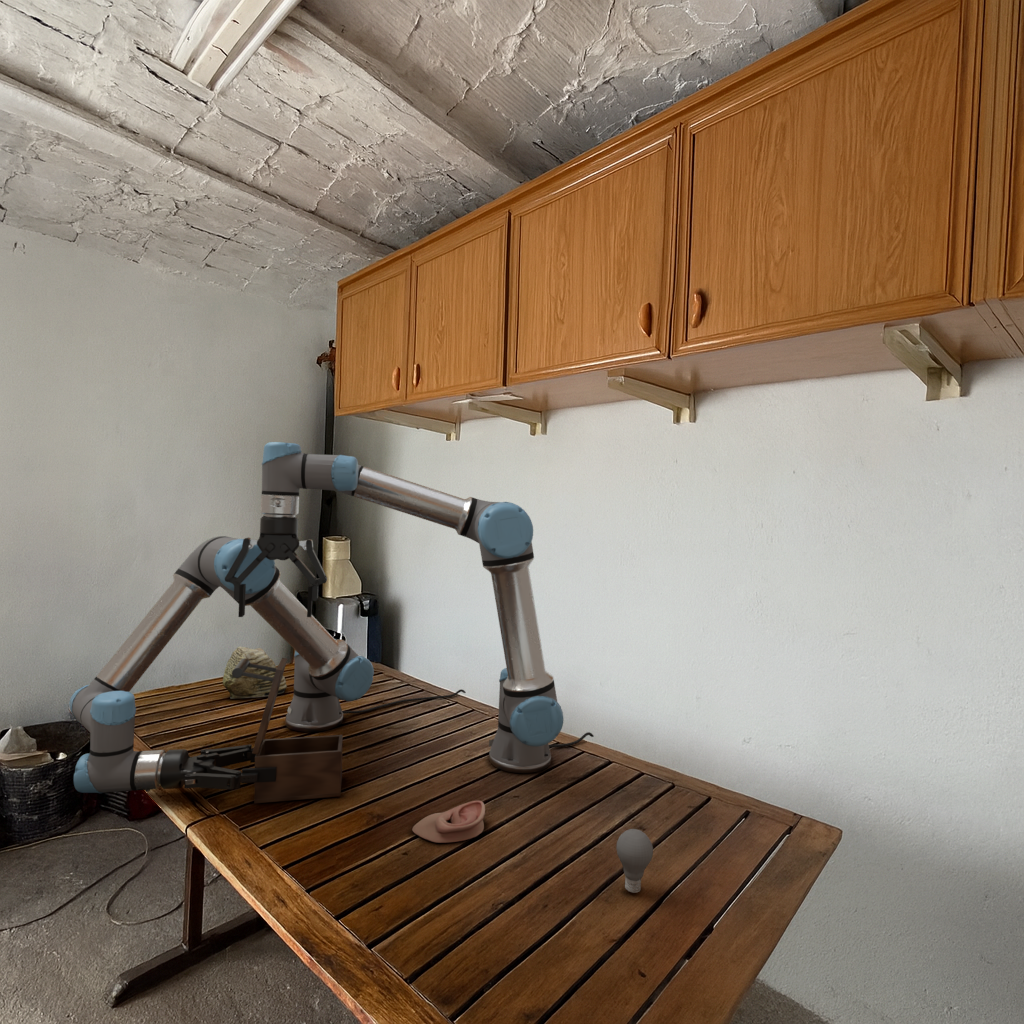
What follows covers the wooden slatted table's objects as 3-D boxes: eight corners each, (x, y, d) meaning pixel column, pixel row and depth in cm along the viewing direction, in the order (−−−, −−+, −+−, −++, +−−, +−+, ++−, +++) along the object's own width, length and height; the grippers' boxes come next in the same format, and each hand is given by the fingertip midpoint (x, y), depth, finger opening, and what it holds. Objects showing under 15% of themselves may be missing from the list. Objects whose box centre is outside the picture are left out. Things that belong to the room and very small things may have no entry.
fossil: (218, 695, 195) (220, 647, 195) (278, 685, 208) (279, 640, 207) (228, 703, 189) (230, 653, 188) (289, 692, 201) (290, 645, 201)
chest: (342, 776, 143) (342, 734, 142) (340, 796, 134) (340, 751, 133) (261, 782, 139) (262, 739, 139) (254, 803, 130) (254, 757, 129)
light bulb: (610, 879, 108) (613, 822, 108) (644, 879, 109) (647, 822, 109) (619, 902, 102) (622, 840, 102) (655, 901, 103) (658, 840, 103)
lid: (287, 658, 139) (243, 649, 137) (281, 670, 130) (234, 660, 128) (264, 737, 139) (220, 729, 137) (257, 754, 130) (210, 746, 127)
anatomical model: (406, 817, 119) (427, 790, 130) (406, 838, 119) (426, 809, 130) (475, 827, 116) (490, 799, 127) (474, 849, 116) (489, 818, 127)
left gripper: (178, 765, 141) (285, 760, 146) (145, 814, 119) (271, 806, 124) (180, 731, 141) (286, 727, 146) (146, 774, 119) (272, 768, 124)
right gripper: (211, 514, 127) (207, 619, 128) (340, 518, 133) (336, 619, 133) (220, 513, 135) (216, 612, 135) (341, 517, 140) (337, 612, 141)
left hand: (279, 763), depth 135 cm, fingers closed on chest, 9 cm apart
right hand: (275, 616), depth 134 cm, fingers open, 13 cm apart
